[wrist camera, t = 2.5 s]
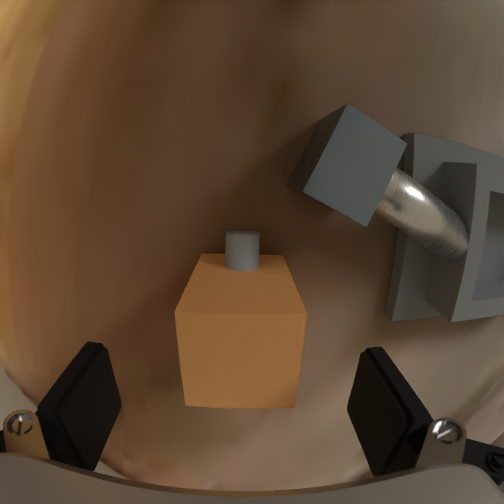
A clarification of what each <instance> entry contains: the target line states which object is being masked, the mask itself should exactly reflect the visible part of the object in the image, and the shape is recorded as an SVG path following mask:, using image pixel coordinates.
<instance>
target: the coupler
mask: <svg viewBox="0 0 504 504" xmlns="http://www.w3.org/2000/svg"><path fill="white" fill-rule="evenodd" d="M259 243H260V233H259V232H257V231H253V230H230V231H227V232H226V233H225V254H201V256H200V258H199V261H198V263H197V265H196V267H195V269H194V271H193V273H192V275H191V277H190V279H189V282H188V284H187V286H186V288H185V290H184V292H183V294H182V297H181V299H180V301H179V303H178V305H177V307H176V310H175V323H176V333H177V343H178V352H179V360H180V369H181V376H182V384H183V391H184V398H185V405H186V406H196V407H213V408H249V409H259V408H294V407H295V401H296V394H297V388H298V381H299V374H300V367H301V360H302V353H303V345H304V337H305V329H306V320H307V312H306V310H305V307H304V305H303V302H302V300H301V298H300V295H299V293H298V290H297V288H296V285H295V283H294V281H293V278H292V276H291V273H290V271H289V269H288V266H287V264H286V261H285V259H284V257H283V255H259Z"/></svg>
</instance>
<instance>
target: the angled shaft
mask: <svg viewBox="0 0 504 504" xmlns="http://www.w3.org/2000/svg"><path fill="white" fill-rule="evenodd" d="M406 145H407V143H406V142H404V141H403V140H402V139H400V138H399V137H398V136H396V135H395V134H393V133H392V132H391V131H389V130H388V129H386V128H385V127H383V126H382V125H380V124H379V123H377V122H376V121H374V120H373V119H371V118H370V117H368V116H367V115H365V114H364V113H362V112H361V111H359V110H357V109H356V108H354V107H353V106H351V105H349V104H346V105H344V106H343V107H341V108H339V109H337V110H336V111H334V112H332V113H331V114H329V115H327V116H326V117H324V118H322V119H321V120H320V121H319V123H318V125H317V127H316V129H315V131H314V133H313V135H312V137H311V139H310V141H309V143H308V145H307V146H306V148H305V150H304V152H303V154H302V156H301V158H300V160H299V162H298V164H297V166H296V168H295V170H294V172H293V174H292V176H291V178H290V179H289V181H288V183H287V185H288V186H290V187H292V188H293V189H295V190H297V191H299V192H301V193H303V194H305V195H307V196H309V197H310V198H312V199H314V200H316V201H318V202H320V203H321V204H323V205H325V206H327V207H329V208H331V209H332V210H334V211H336V212H338V213H340V214H342V215H344V216H346V217H347V218H349V219H351V220H353V221H355V222H357V223H359V224H361V225H363V226H364V227H367V225H368V223H369V221H370V219H371V217H372V216H373V214H374V213H375V214H377V215H378V216H380V217H382V218H383V219H385V220H386V221H388V222H390V223H391V224H393V225H394V226H396V227H397V228H399V229H400V230H402V231H403V232H405V233H406V234H408V235H409V236H411V237H412V238H414V239H415V240H417V241H418V242H420V243H421V244H423V245H424V246H426V247H427V248H428V249H430V250H431V251H433V252H434V253H436V254H437V255H438V256H440V257H441V258H443V259H444V260H445V261H448V262H452V261H456V260H458V259H459V258H460V257H462V256H463V255H464V253H465V252H466V251H467V249H468V246H469V233H468V228H467V225H466V223H465V221H464V220H463V219H462V218H461V217H460V216H459V215H458V214H456V213H455V212H454V211H453V210H452V209H450V208H449V207H448V206H447V205H446V204H444V203H443V202H442V201H441V200H440V199H438V198H437V197H436V196H435V195H433V194H432V193H431V192H430V191H428V190H427V189H426V188H424V187H423V186H422V185H421V184H419V183H418V182H417V181H415V180H414V179H413V178H411V177H410V176H408V175H407V174H406V173H404V172H403V171H402V170H400V169H399V168H397V165H398V163H399V161H400V159H401V157H402V154H403V152H404V150H405V148H406Z"/></svg>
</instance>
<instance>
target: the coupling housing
mask: <svg viewBox="0 0 504 504" xmlns="http://www.w3.org/2000/svg"><path fill="white" fill-rule="evenodd" d="M404 142H406V143H407V145H406V148H405V150H404V155H403V172H404V173H406V174H407V175H408V176H410V177H411V178H413V179H414V180H415V181H417V182H418V183H419V184H421V185H422V186H423V187H424V188H426V189H427V190H428V191H430V192H431V193H432V194H433V195H435V196H436V197H437V198H438V199H440V200H441V201H442V202H443V203H444V204H446V205H447V206H448V207H449V208H450V209H452V210H453V211H454V212H455V213H456V214H458V215H459V216H460V217H461V218H462V219H463V220H464V221H465V223H466V225H467V228H468V233H469V246H468V249H467V251H466V252H465V253H464V255H463V256H462V257H460V258H459V259H458V260H456V261H452V262H448V261H445V260H444V259H443V258H441V257H440V256H438V255H437V254H436V253H434V252H433V251H431V250H430V249H428V248H427V247H426V246H424V245H423V244H421V243H420V242H418V241H417V240H415V239H414V238H412V237H411V236H409V235H408V234H406V233H405V232H403V231H402V230H400V229H399V228H398V232H397V240H396V248H395V255H394V261H393V268H392V274H391V280H390V285H389V291H388V296H387V301H386V306H385V311H384V313H385V315H386V316H387V317H388V318H389V319H390V320H391V322H394V321H406V320H417V319H428V318H438V317H445V318H446V319H447V320H448V321H450V322H458V321H465V320H472V319H478V318H485V317H491V316H497V315H502V314H504V157H501V156H498V155H495V154H492V153H489V152H486V151H483V150H479V149H476V148H473V147H469V146H466V145H462V144H459V143H455V142H451V141H448V140H444V139H440V138H436V137H431V136H427V135H423V134H418V133H408V134H404Z"/></svg>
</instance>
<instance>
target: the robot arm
mask: <svg viewBox="0 0 504 504" xmlns="http://www.w3.org/2000/svg"><path fill="white" fill-rule="evenodd" d="M37 409H38V410H37V411H36V413H33V412H32V411H29V410H17V411H14V412H12V413H10V414H9V415H8V416H7V417H6V418H5V420H4V423H3V430H1V431H0V504H504V448H501V447H497V446H492V445H489V444H485V443H481V442H478V441H474V440H471V439H467V438H466V437H467V435H466V430H465V427H464V426H463V425H462V424H461V423H460V422H458V421H457V420H454V419H452V418H439V419H436V420H433V419H432V417H431V415H430V414H429V412H428V411H427V409H426V408H425V406H424V405H423V403H422V402H421V401H420V399H419V398H418V396H417V395H416V393H415V392H414V391H413V389H412V388H411V386H410V385H409V384H408V382H407V381H406V379H405V378H404V377H403V375H402V374H401V372H400V371H399V370H398V368H397V367H396V365H395V364H394V363H393V361H392V360H391V359H390V357H389V356H388V354H387V353H386V352H385V350H384V349H383V348H382V347H371V348H366V350H365V352H362V353H361V355H360V359H359V363H358V367H357V371H356V375H355V379H354V383H353V387H352V390H351V394H350V398H349V401H348V405H347V411H348V414H349V417H350V419H351V422H352V424H353V426H354V429H355V431H356V434H357V436H358V439H359V441H360V444H361V446H362V449H363V451H364V454H365V456H366V459H367V461H368V464H369V467H370V469H371V472H372V474H373V476H374V477H373V478H368V479H363V480H357V481H352V482H346V483H340V484H334V485H327V486H320V487H312V488H302V489H290V490H274V491H214V490H199V489H187V488H178V487H169V486H162V485H155V484H149V483H143V482H137V481H132V480H127V479H122V478H117V477H113V476H109V475H105V474H101V473H96V472H93V471H94V470H95V468H96V466H97V463H98V461H99V458H100V456H101V454H102V451H103V449H104V446H105V444H106V442H107V439H108V437H109V435H110V432H111V430H112V428H113V425H114V423H115V421H116V418H117V416H118V414H119V412H120V409H121V398H120V395H119V392H118V388H117V385H116V381H115V377H114V373H113V369H112V365H111V361H110V357H109V353H108V350H107V348H105V347H104V346H103V344H101V343H95V342H87V343H86V344H85V345H84V346H83V348H82V349H81V350H80V351H79V353H78V354H77V355H76V356H75V358H74V359H73V360H72V361H71V363H70V364H69V365H68V367H67V368H66V369H65V370H64V372H63V373H62V374H61V376H60V377H59V378H58V380H57V381H56V382H55V384H54V385H53V386H52V388H51V389H50V390H49V392H48V393H47V394H46V396H45V397H44V398H43V400H42V401H41V403H40V404H39V405H38V407H37Z"/></svg>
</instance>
